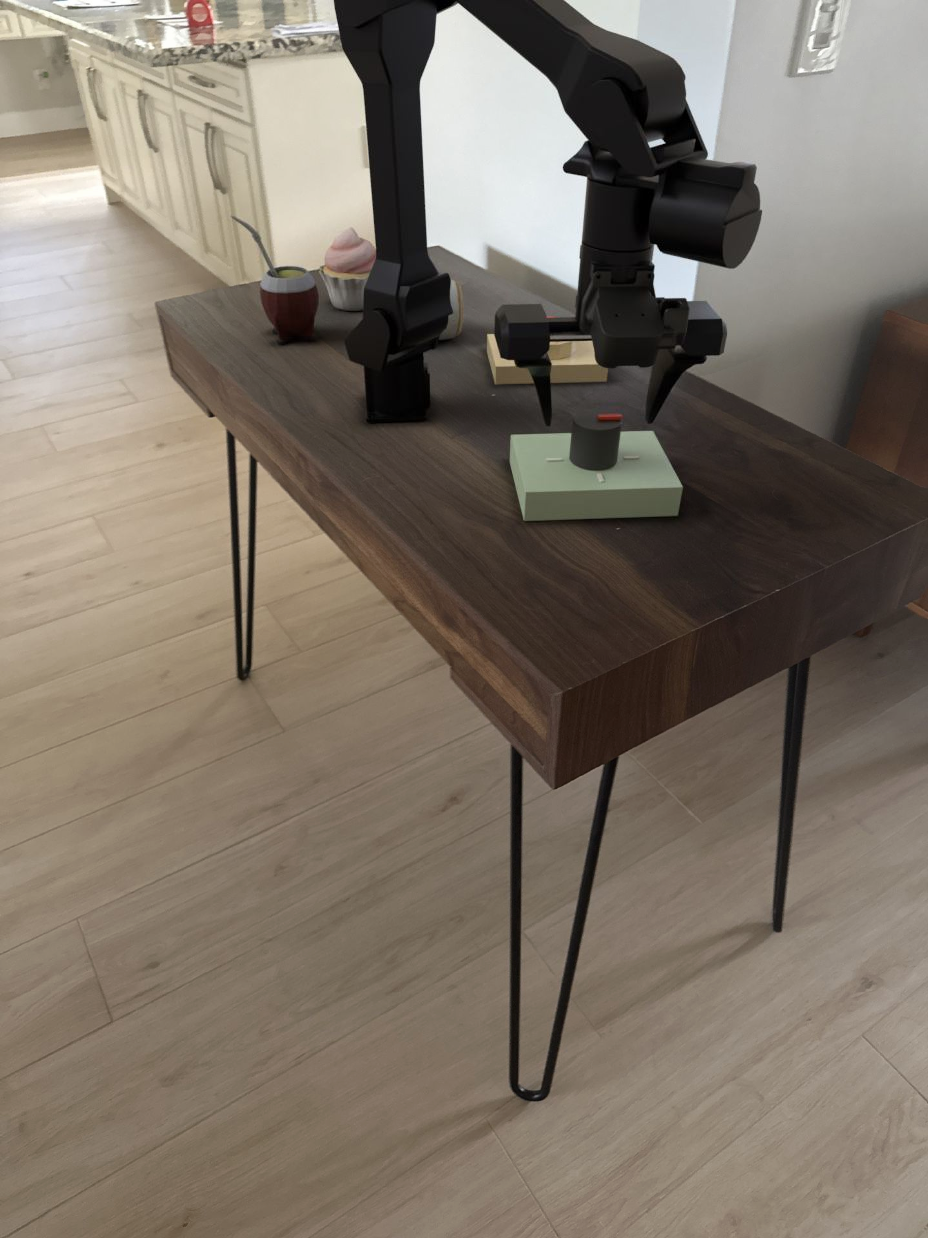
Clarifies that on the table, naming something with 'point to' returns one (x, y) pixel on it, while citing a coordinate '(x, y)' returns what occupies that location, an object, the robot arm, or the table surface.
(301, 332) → the mate gourd
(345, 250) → the cupcake
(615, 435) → the timer knob
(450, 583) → the table surface
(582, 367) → the beige button base
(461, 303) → the ceramic mug
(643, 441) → the panel
